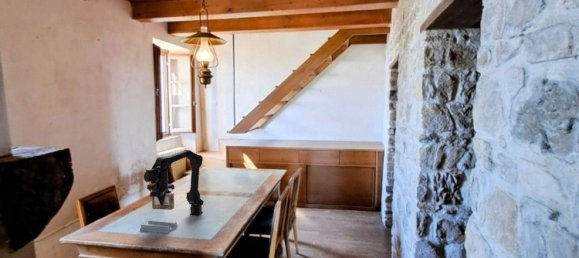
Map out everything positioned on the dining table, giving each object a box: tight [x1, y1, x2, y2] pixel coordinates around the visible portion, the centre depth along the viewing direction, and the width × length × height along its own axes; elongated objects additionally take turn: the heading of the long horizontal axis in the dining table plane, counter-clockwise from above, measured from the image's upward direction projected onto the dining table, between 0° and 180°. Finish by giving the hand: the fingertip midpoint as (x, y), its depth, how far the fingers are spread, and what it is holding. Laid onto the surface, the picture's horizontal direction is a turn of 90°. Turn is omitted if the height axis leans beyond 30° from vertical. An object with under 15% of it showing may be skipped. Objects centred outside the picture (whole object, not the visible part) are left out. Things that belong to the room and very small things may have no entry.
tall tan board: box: [151, 192, 175, 211], centre depth 189 cm, size 12×3×9 cm, turn 84°
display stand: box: [139, 219, 179, 234], centre depth 185 cm, size 18×10×3 cm, turn 76°
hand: (163, 204), depth 189 cm, fingers closed on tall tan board, 3 cm apart
